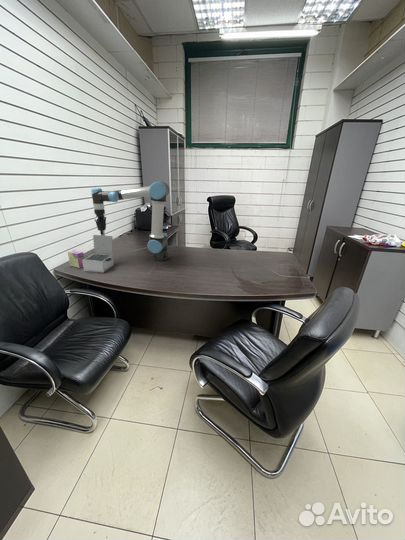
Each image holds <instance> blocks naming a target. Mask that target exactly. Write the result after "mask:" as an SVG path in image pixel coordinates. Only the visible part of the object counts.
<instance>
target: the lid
mask: <svg viewBox="0 0 405 540" xmlns="http://www.w3.org/2000/svg"><path fill="white" fill-rule="evenodd" d="M113 239H114V238H113V235H105V236H103V235H101V234H93V235H92V240H93V254H104V255H113V256H114V247H113V246H114V242H113Z"/></svg>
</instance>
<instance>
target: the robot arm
mask: <svg viewBox="0 0 405 540" xmlns="http://www.w3.org/2000/svg"><path fill="white" fill-rule="evenodd" d="M90 191H91V198H92V203H93V212H94V215H95V219H94V222H95V224H96V227H97V230H98V231H99V232H100V235H103V236H106V233H105V231H107V230H106V229H107V216H105V214H106V211H105V204H104V202H107V203H109V202H110V203H117V202H118V201H121V200H122V201H123V200H129V199H138V198H147V197H150V201H151V203H152V205H151V206H152V209H151V231H150V232H151V233H150V234H149V238H148V239H149V240H148V242H147V249H148V251H150V252H151V253H152V259H153V260H154V261H156V260H157V261H158V262H164V261H163V260H166V261H168V260H167V259H169V258H171V255H170V252H169V249H168V248H169V247H168V241H169V240H168V234H167V233H166V232H163V231H164V230H163V229H164V228H163V227H164V225H163V224H164V212H165V211H164V206H165V204H166V203H167V197H168V196H169V194H170V186H169V185H168V184H167V182H164V181H155V182H153V183H151V184H150V186H149V185H148V186H140V187H133V188H125V189H120V190H119V189H118V190H110V191H107V190H106V191H105V190H103V189H102V188H100V187H93V188H91V189H90ZM169 260H170V259H169Z"/></svg>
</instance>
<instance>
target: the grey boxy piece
mask: <svg viewBox="0 0 405 540" xmlns="http://www.w3.org/2000/svg"><path fill="white" fill-rule="evenodd" d="M114 262H115V261H114V254H113V255H105V254H94V253H92V254H90V255H87V256H84V259H83V260H82V263H83V267H82V268H83V271H84V272H90V273H91V272H92V273H100V274H101V273H102V274H103V273H106V272H107V271H108V270H110V269H111V268H113V267H114V266H115V264H114Z"/></svg>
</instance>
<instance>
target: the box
mask: <svg viewBox="0 0 405 540" xmlns="http://www.w3.org/2000/svg"><path fill="white" fill-rule="evenodd" d="M67 254H68V255H67V256H68V261H69V265H70V266H71V267H74V268H76V269H77V268H78V269H81V268H83V263H82V260H83V259H84V258H85V256H84V252H83V251H78V250H76V249H75V250H74V249H73V250H70V251H67Z"/></svg>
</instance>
